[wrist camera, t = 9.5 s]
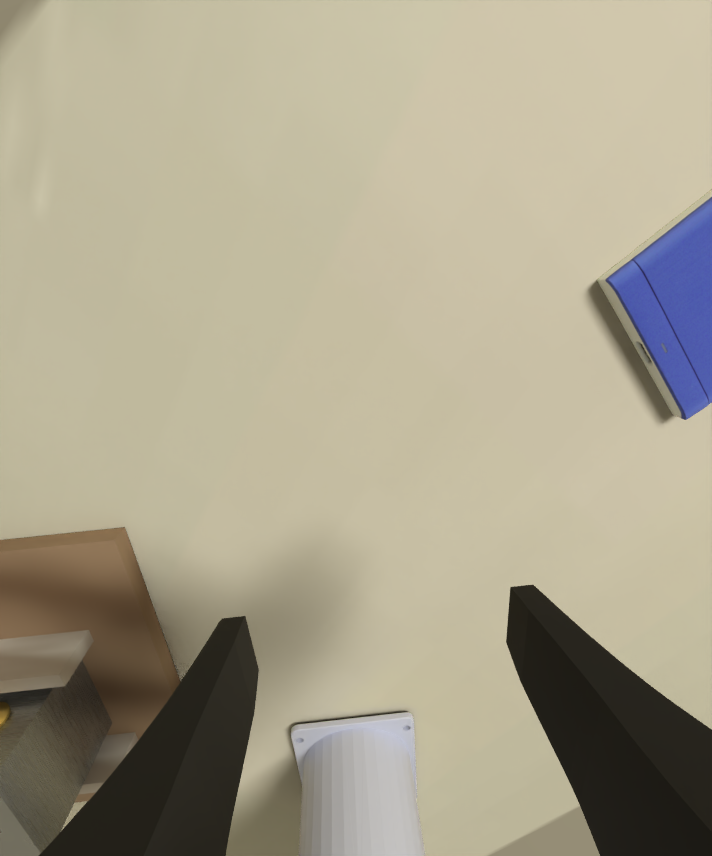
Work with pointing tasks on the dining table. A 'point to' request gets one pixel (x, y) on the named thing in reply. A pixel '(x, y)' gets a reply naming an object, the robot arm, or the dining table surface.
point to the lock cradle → (85, 631)
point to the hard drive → (671, 306)
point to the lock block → (46, 758)
